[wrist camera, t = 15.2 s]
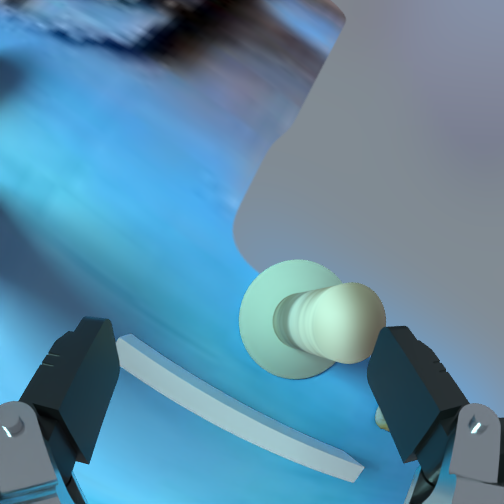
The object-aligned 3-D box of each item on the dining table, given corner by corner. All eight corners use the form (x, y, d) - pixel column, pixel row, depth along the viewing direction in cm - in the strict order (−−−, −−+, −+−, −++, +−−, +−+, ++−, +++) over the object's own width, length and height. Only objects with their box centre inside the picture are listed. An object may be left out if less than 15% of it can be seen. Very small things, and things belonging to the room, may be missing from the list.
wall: (120, 349, 28) (107, 356, 23) (130, 333, 28) (119, 337, 23) (333, 464, 29) (353, 482, 24) (343, 450, 30) (364, 467, 25)
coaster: (253, 392, 29) (254, 393, 29) (226, 273, 31) (227, 272, 31) (360, 358, 32) (362, 358, 31) (337, 250, 34) (339, 249, 33)
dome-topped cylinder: (279, 354, 30) (324, 374, 19) (266, 300, 31) (306, 293, 20) (330, 339, 31) (391, 349, 21) (318, 287, 32) (376, 274, 21)
